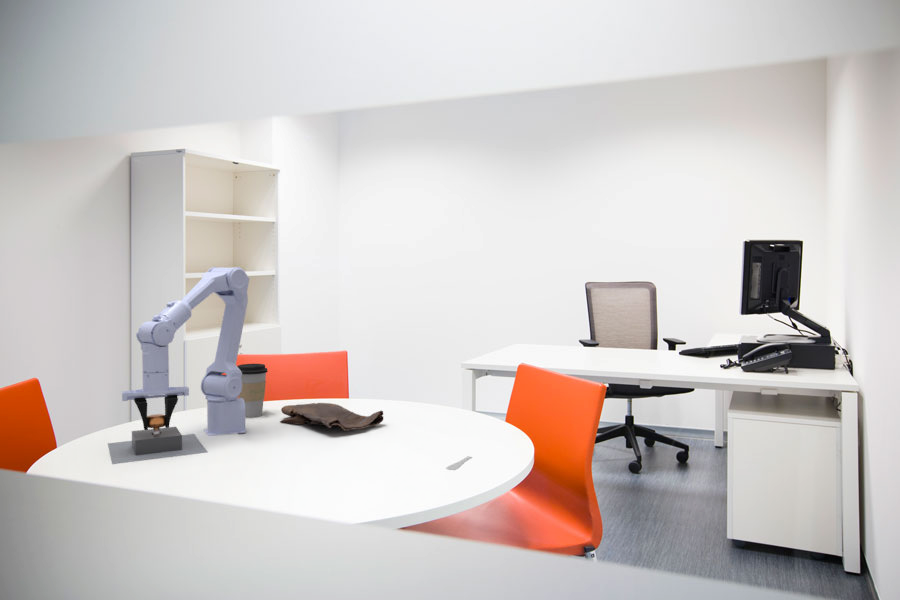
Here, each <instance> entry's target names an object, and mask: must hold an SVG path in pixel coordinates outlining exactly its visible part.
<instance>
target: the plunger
mask: <svg viewBox="0 0 900 600" xmlns="http://www.w3.org/2000/svg"><path fill="white" fill-rule="evenodd" d="M147 421H148V429H153V434H160V428H165V414H160V413H159V414H151V415H147Z"/></svg>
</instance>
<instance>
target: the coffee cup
mask: <svg viewBox="0 0 900 600" xmlns="http://www.w3.org/2000/svg"><path fill="white" fill-rule="evenodd" d="M237 367H238V368H239V369H240V370H241V372H242V377H241V381H242V391H241V393H240V395H239V396H238V398H243V399H244V402H245V418H257V417H261V416H262V415H263V408H264V401H265V394H266V393H265V392H266V384H267V380H266V379H267V373H268V368H267V367H266V364H264V363H245V364H244V363H242V364H239V365H237Z"/></svg>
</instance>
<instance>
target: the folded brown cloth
mask: <svg viewBox="0 0 900 600" xmlns="http://www.w3.org/2000/svg"><path fill="white" fill-rule="evenodd" d="M280 411H281V413H282V414H283V415H286V416H288V418H284V419H282V420H280V421H279V423H284V424H296V425H304V424H306V423H307V424H308V423H309V425H318V426H326V427H328V428H329V429H330V428H332V427H337V428H341V429H342V430H344V431H345V432H346V431H351V430H360V429H367V428H368V427H373V426H377V425H380V424H381V423H382V422H383V421H384V410H380V411H376V412H374V413H372V414H371V415H368V416H366V415H361V414H357V413H356V412H353V411H350V410H349V409H348V408H345V407H343V406H341V405H339V404H336V403H330V402H328V403H327V402H317V403H315V402H313V403H312V402H311V403H303V404H301V403H300V404H294V405H284V406H283V407H281V409H280Z"/></svg>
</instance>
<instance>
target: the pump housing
mask: <svg viewBox="0 0 900 600" xmlns="http://www.w3.org/2000/svg"><path fill="white" fill-rule="evenodd" d="M182 435H183V434H182V433H181V432H180V430H179V429H178V428H177V426H169V427H167V428H166V427H160V434H153V428H148V430H144V429H141V430H131V441H132V447H133V450H134V453H135V455H143V454H152V453H160V452H168V451H177V450H182Z"/></svg>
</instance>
